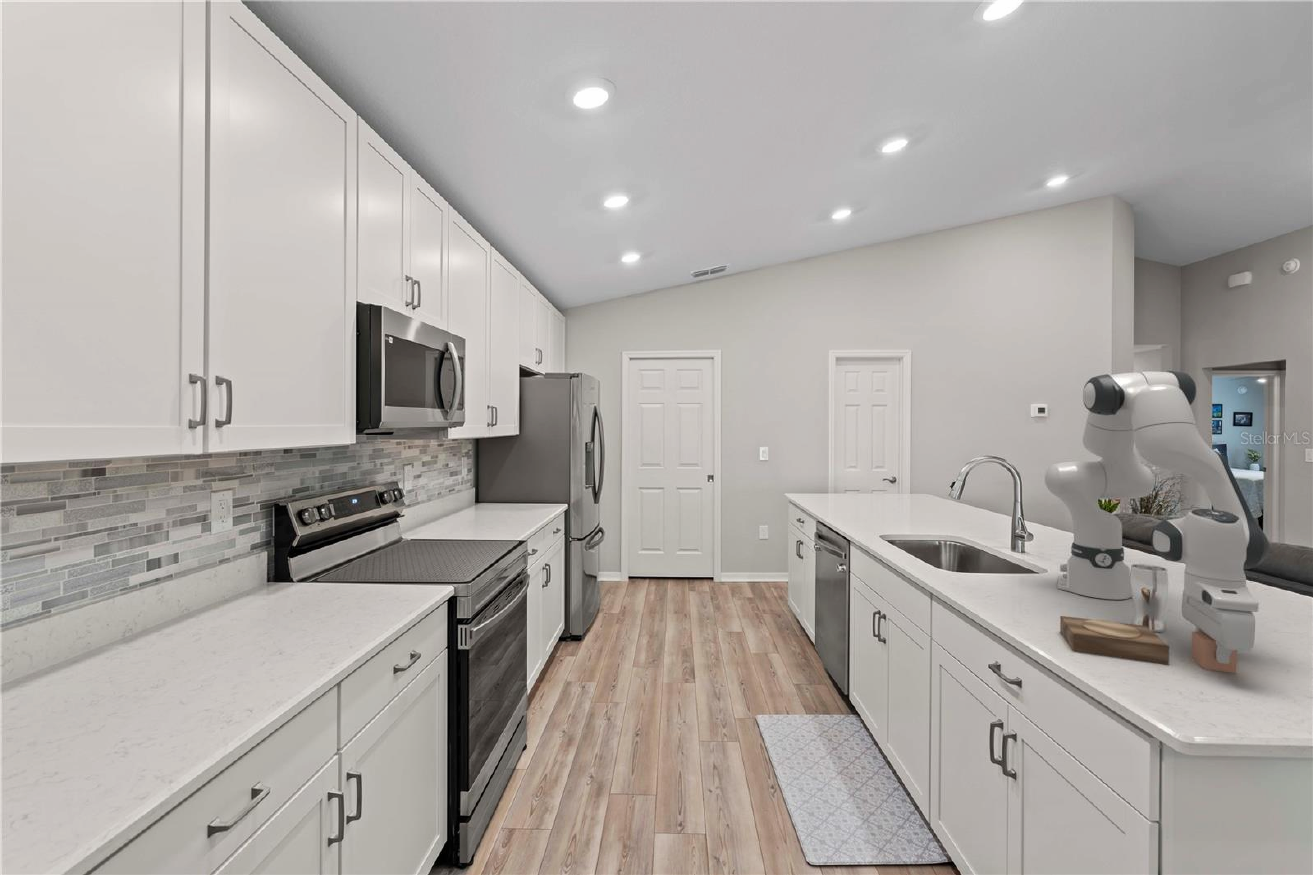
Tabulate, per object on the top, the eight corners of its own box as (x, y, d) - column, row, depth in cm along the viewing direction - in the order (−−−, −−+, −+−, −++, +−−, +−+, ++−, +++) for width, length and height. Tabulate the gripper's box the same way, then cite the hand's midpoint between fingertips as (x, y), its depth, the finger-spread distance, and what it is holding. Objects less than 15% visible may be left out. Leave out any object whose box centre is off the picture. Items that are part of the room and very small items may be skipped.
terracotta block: (1191, 659, 114) (1191, 631, 114) (1223, 663, 112) (1223, 634, 111) (1203, 668, 109) (1203, 639, 109) (1236, 673, 107) (1236, 643, 107)
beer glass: (1175, 634, 127) (1176, 571, 127) (1141, 632, 128) (1142, 570, 128) (1154, 623, 134) (1155, 564, 133) (1122, 622, 135) (1123, 563, 135)
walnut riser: (1060, 632, 129) (1060, 614, 129) (1146, 643, 122) (1146, 624, 122) (1073, 651, 118) (1073, 631, 118) (1168, 664, 111) (1168, 643, 111)
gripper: (1172, 574, 121) (1171, 635, 121) (1218, 602, 102) (1217, 673, 103) (1209, 578, 118) (1209, 639, 118) (1264, 606, 100) (1263, 679, 100)
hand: (1213, 655), depth 110 cm, fingers closed on terracotta block, 5 cm apart
